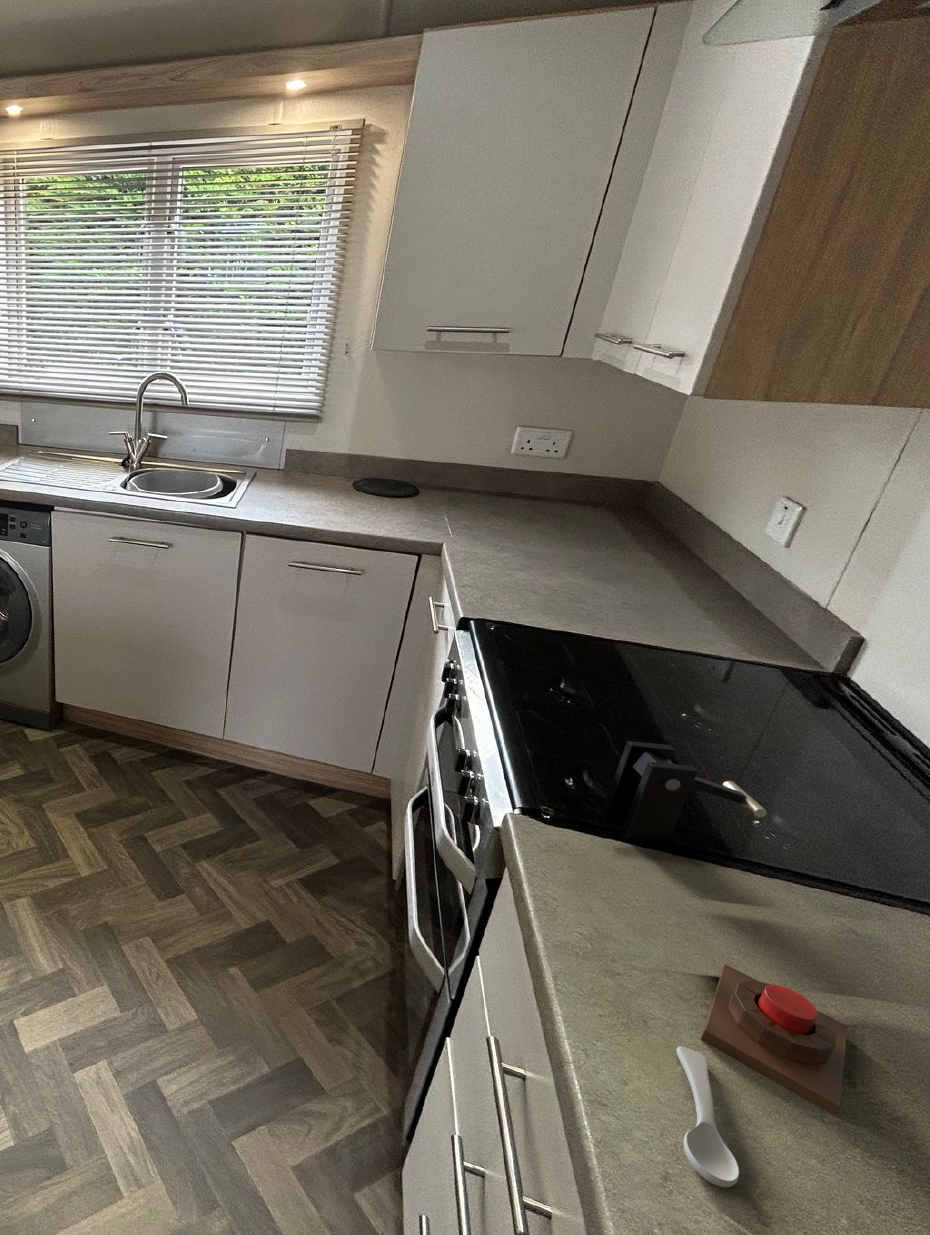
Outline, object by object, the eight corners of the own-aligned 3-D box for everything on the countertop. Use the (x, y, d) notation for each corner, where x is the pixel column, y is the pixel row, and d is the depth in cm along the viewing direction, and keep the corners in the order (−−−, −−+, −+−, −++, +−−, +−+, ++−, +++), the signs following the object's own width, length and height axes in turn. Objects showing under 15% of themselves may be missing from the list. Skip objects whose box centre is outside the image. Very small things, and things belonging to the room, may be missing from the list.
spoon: (683, 1177, 50) (692, 1158, 49) (663, 1051, 60) (671, 1034, 59) (738, 1206, 49) (748, 1186, 48) (709, 1072, 58) (717, 1054, 57)
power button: (759, 991, 61) (767, 977, 61) (811, 1018, 59) (819, 1003, 58) (754, 1014, 59) (762, 999, 59) (807, 1042, 57) (816, 1027, 56)
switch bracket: (657, 819, 86) (690, 738, 82) (707, 873, 78) (746, 786, 73) (559, 808, 88) (586, 728, 83) (598, 859, 79) (630, 774, 75)
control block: (719, 972, 66) (731, 949, 65) (841, 1035, 60) (856, 1010, 59) (700, 1039, 60) (712, 1015, 59) (833, 1116, 54) (850, 1090, 53)
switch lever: (726, 794, 81) (740, 778, 80) (758, 823, 77) (773, 807, 76) (625, 759, 82) (637, 743, 81) (650, 786, 77) (664, 769, 76)
